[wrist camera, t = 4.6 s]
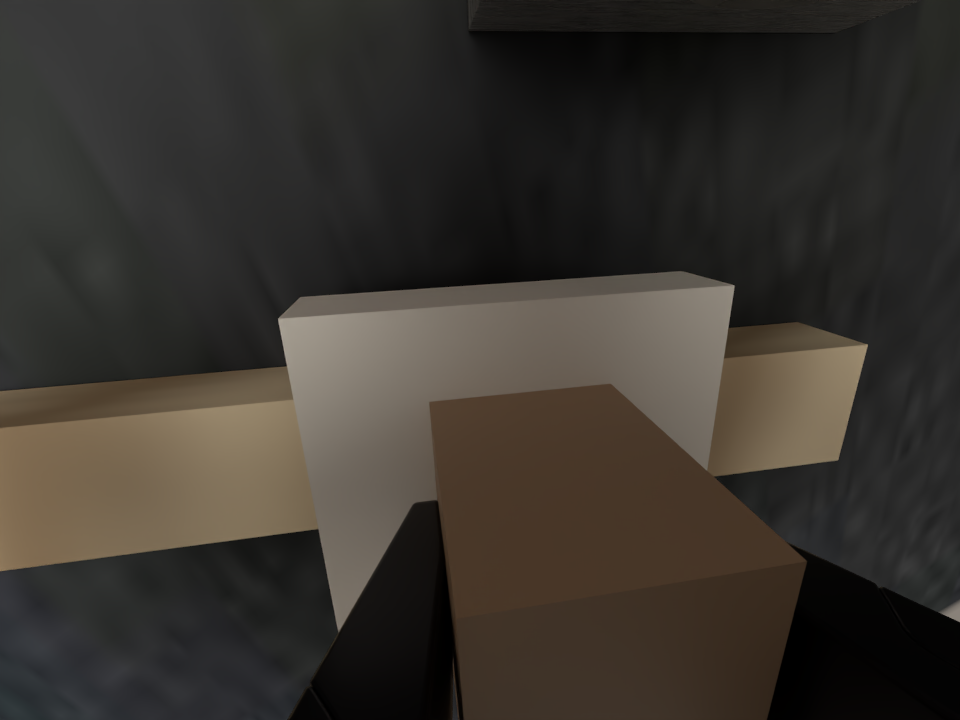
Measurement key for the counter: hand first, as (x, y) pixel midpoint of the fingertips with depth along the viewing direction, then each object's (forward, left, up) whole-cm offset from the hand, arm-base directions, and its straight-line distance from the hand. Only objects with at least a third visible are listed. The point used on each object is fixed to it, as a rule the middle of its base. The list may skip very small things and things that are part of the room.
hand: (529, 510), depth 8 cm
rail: (+1, 0, -4) cm, 4 cm away
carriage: (0, 0, -4) cm, 4 cm away
